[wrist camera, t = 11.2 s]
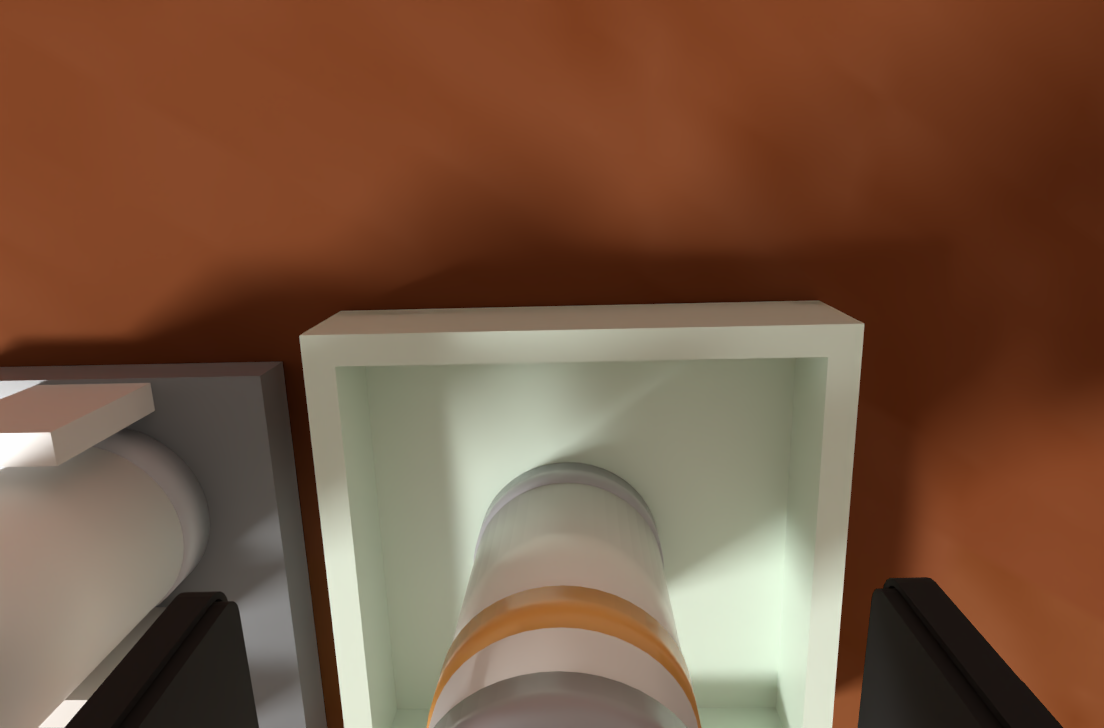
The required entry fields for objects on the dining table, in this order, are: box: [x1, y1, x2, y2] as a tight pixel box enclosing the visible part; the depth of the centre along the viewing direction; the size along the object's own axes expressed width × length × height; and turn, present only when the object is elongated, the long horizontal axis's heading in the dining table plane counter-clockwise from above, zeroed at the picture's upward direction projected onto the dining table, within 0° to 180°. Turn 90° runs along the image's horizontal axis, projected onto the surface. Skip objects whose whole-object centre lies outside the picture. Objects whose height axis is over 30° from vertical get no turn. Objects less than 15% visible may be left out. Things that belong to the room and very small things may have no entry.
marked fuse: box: [426, 462, 701, 728], centre depth 13 cm, size 4×4×8 cm
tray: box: [299, 300, 864, 728], centre depth 16 cm, size 10×10×2 cm
